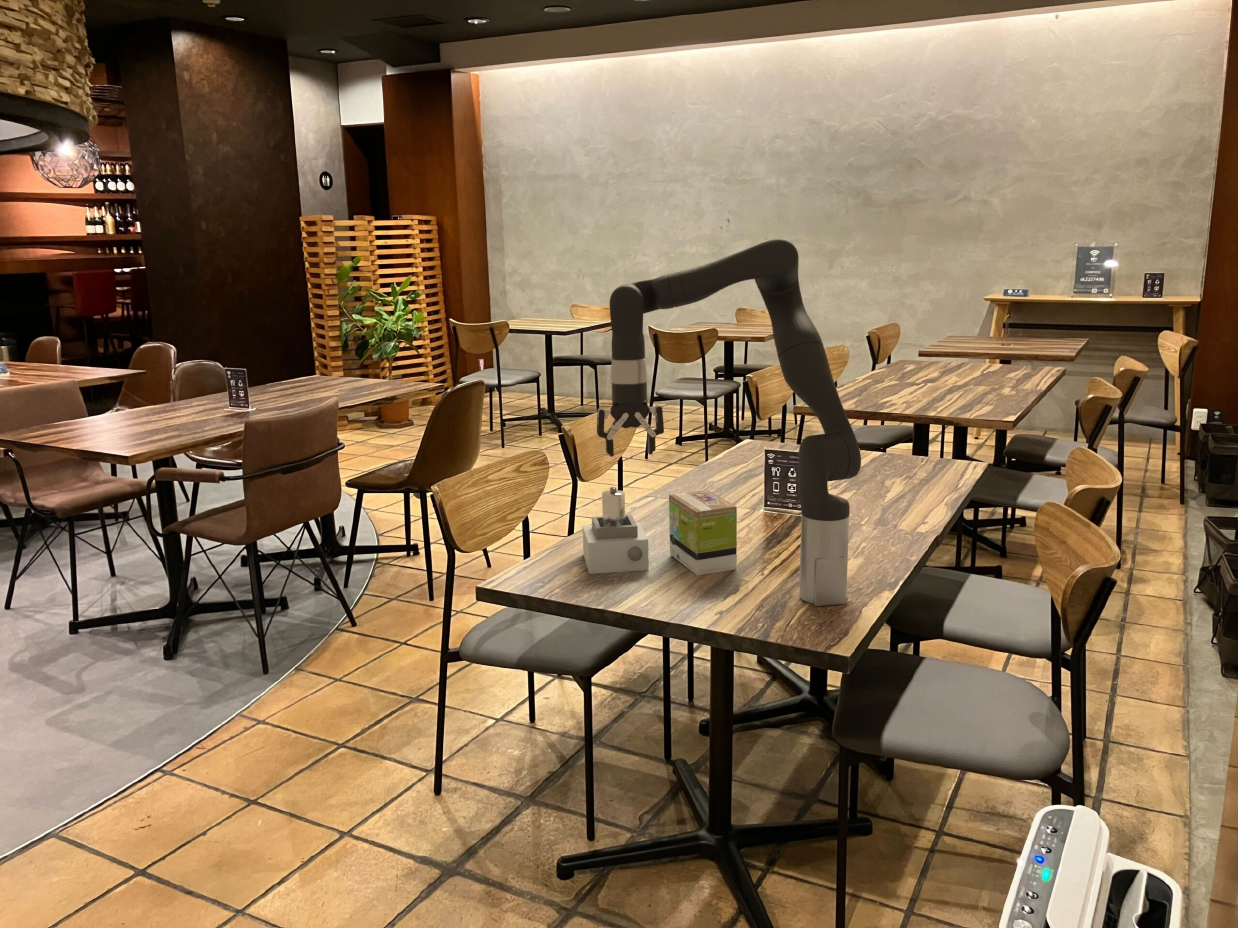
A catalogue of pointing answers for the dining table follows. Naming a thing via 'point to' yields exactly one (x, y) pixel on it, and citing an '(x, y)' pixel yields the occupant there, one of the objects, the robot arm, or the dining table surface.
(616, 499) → the spout can
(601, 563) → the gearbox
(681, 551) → the tea box
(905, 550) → the dining table surface
